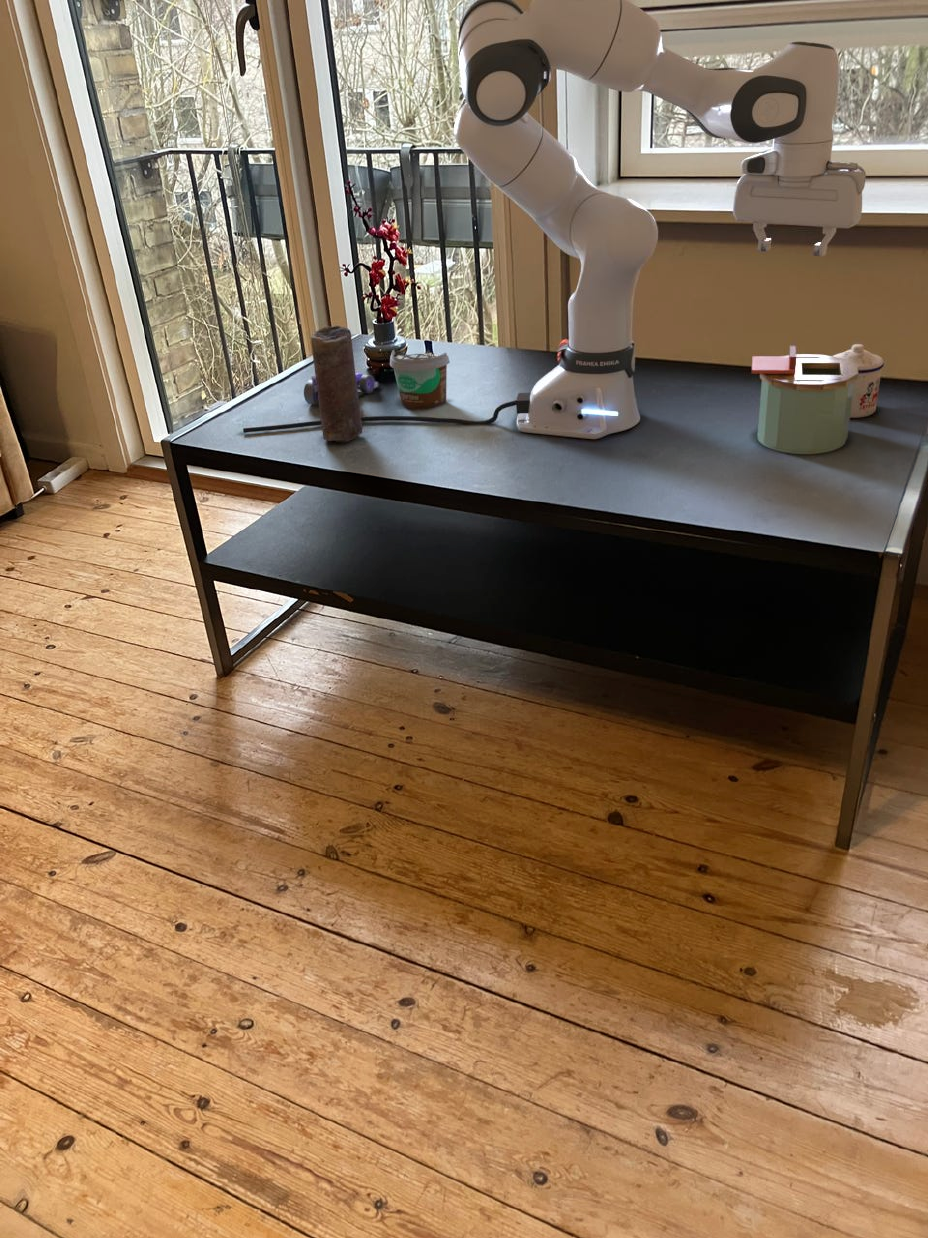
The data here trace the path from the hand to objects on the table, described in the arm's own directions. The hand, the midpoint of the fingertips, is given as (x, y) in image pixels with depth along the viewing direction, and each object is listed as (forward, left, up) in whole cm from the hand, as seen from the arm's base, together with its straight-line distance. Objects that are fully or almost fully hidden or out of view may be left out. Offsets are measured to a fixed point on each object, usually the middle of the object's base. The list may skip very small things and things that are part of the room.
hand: (791, 252), depth 164 cm
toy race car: (-85, +8, -29) cm, 90 cm away
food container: (-68, +4, -29) cm, 74 cm away
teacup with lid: (+13, +7, -29) cm, 32 cm away
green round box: (+4, -8, -28) cm, 30 cm away
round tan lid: (+4, -8, -17) cm, 20 cm away
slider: (-1, -8, -16) cm, 18 cm away
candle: (-77, -14, -29) cm, 83 cm away
